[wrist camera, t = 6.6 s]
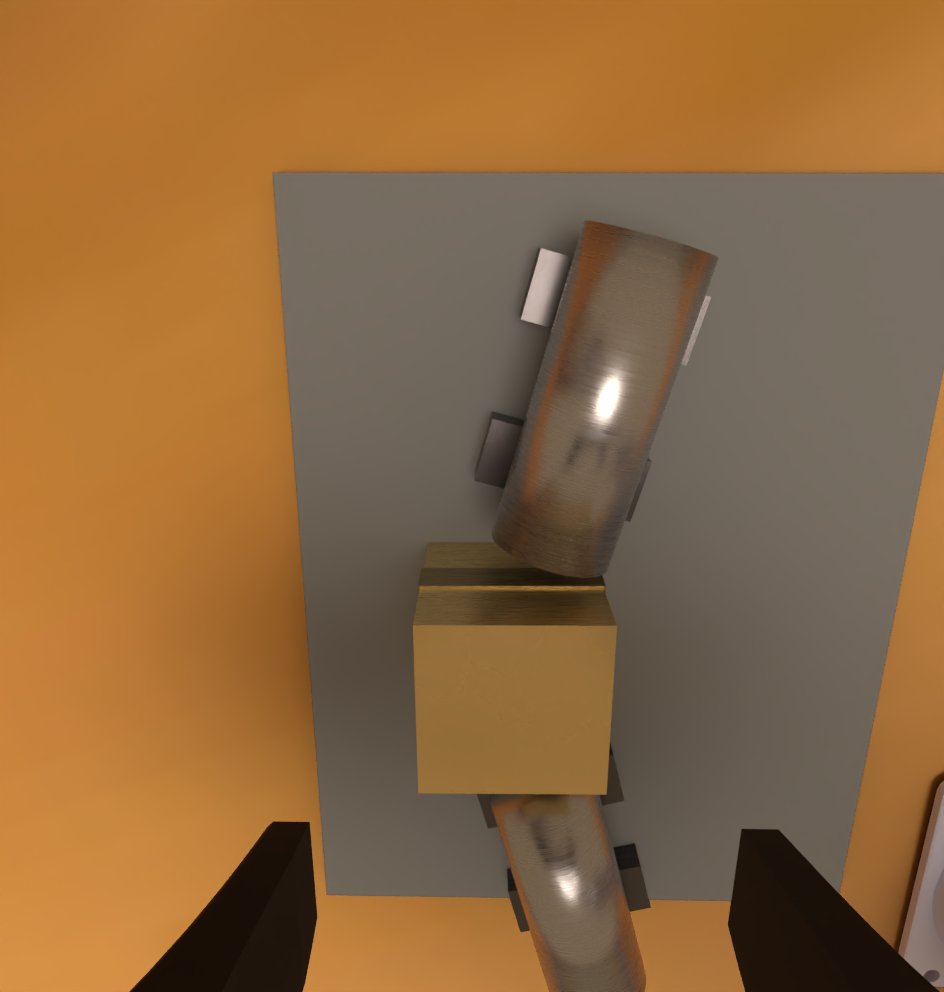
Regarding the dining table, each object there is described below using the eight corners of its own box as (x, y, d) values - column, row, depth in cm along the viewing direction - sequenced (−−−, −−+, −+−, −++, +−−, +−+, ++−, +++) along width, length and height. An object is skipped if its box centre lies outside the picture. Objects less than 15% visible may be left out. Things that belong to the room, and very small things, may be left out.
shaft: (611, 525, 20) (643, 596, 16) (468, 488, 20) (464, 550, 16) (703, 264, 18) (767, 268, 14) (545, 218, 18) (563, 209, 14)
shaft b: (468, 731, 22) (464, 839, 18) (600, 702, 22) (626, 805, 18) (523, 908, 24) (531, 1040, 20) (644, 884, 24) (677, 1015, 20)
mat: (966, 175, 17) (983, 173, 17) (829, 886, 24) (837, 902, 23) (279, 174, 18) (272, 172, 17) (330, 879, 24) (326, 895, 24)
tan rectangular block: (589, 540, 20) (619, 623, 15) (582, 682, 21) (608, 796, 17) (426, 540, 20) (410, 622, 15) (430, 682, 21) (416, 795, 17)
